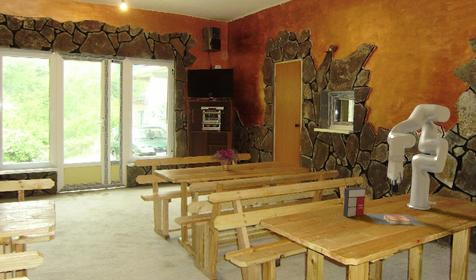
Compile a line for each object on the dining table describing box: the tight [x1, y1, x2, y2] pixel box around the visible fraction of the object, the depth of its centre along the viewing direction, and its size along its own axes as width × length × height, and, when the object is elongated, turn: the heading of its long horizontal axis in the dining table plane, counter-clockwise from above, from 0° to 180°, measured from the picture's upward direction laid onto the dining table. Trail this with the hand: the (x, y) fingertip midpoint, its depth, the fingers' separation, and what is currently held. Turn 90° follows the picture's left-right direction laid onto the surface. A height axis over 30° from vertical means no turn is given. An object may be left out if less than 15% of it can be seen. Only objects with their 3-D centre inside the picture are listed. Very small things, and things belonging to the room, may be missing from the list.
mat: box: [364, 212, 426, 226], centre depth 216 cm, size 24×19×1 cm
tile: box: [384, 215, 411, 225], centre depth 211 cm, size 10×2×9 cm
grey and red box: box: [342, 186, 366, 218], centre depth 221 cm, size 11×4×15 cm, turn 112°
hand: (394, 192), depth 223 cm, fingers closed
